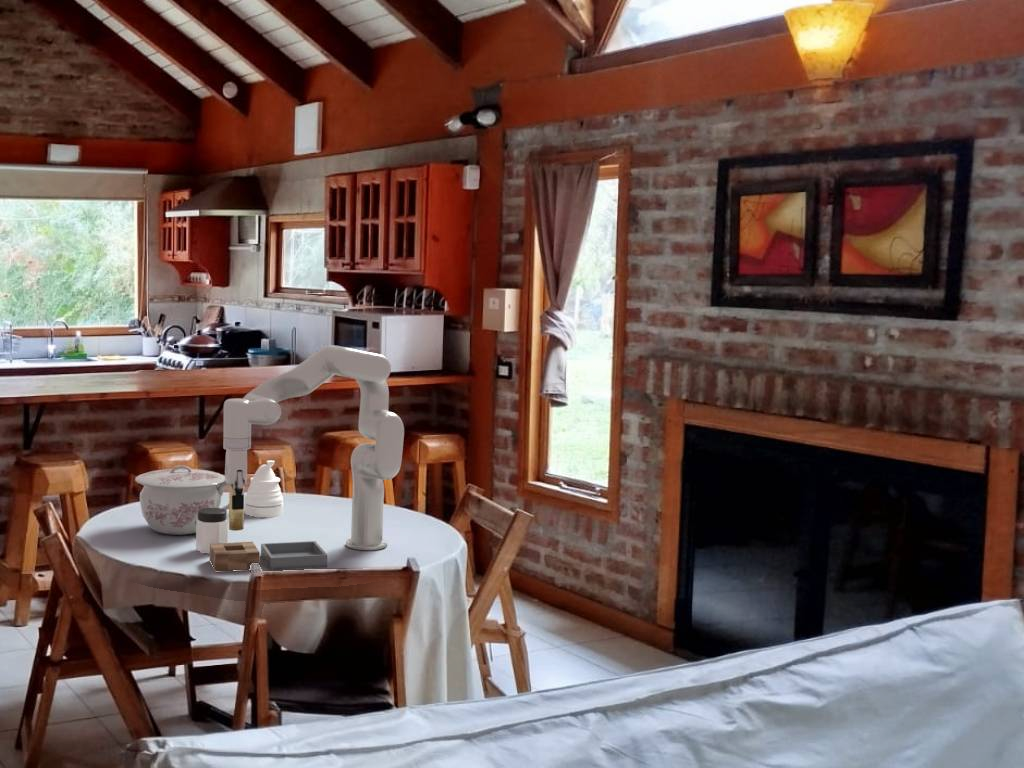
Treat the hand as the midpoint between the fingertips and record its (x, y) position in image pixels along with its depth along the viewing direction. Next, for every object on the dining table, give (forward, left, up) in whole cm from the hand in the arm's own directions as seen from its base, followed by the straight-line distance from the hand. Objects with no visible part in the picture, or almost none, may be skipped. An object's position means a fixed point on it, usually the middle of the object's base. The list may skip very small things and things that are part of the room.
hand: (236, 506), depth 324 cm
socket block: (0, 0, -17) cm, 17 cm away
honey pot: (-62, +19, -17) cm, 67 cm away
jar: (-17, -4, -17) cm, 24 cm away
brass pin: (0, 0, -6) cm, 6 cm away
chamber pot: (-43, -10, -17) cm, 47 cm away
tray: (-1, +17, -17) cm, 24 cm away
